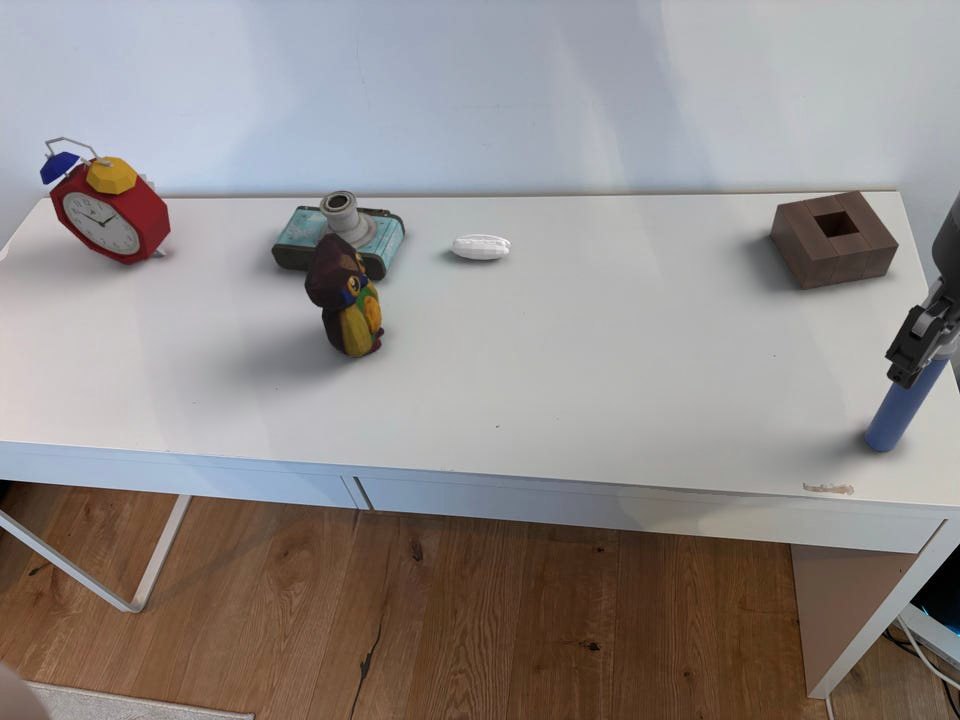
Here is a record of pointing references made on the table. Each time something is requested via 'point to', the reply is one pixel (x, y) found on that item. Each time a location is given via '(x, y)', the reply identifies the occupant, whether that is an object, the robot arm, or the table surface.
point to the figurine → (344, 297)
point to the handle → (905, 403)
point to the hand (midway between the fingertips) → (928, 355)
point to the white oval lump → (480, 246)
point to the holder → (832, 239)
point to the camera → (340, 233)
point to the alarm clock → (107, 205)
